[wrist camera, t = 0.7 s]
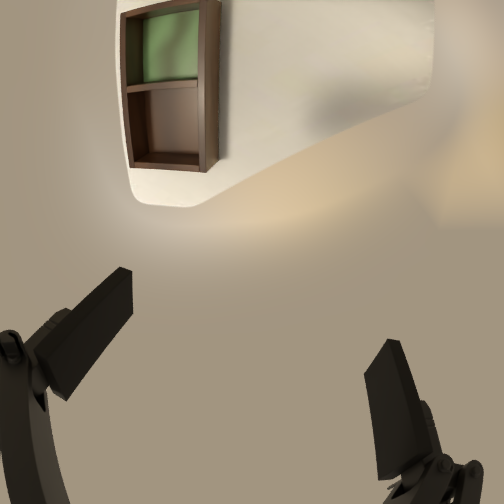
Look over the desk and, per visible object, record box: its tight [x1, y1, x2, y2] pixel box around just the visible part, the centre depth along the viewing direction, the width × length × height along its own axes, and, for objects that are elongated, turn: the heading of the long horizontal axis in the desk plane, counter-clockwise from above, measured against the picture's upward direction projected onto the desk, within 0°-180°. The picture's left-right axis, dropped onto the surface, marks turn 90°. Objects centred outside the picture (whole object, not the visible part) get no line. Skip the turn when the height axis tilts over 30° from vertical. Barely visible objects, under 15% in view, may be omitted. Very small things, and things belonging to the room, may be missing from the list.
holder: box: [120, 0, 221, 173], centre depth 28 cm, size 11×22×5 cm, turn 178°
